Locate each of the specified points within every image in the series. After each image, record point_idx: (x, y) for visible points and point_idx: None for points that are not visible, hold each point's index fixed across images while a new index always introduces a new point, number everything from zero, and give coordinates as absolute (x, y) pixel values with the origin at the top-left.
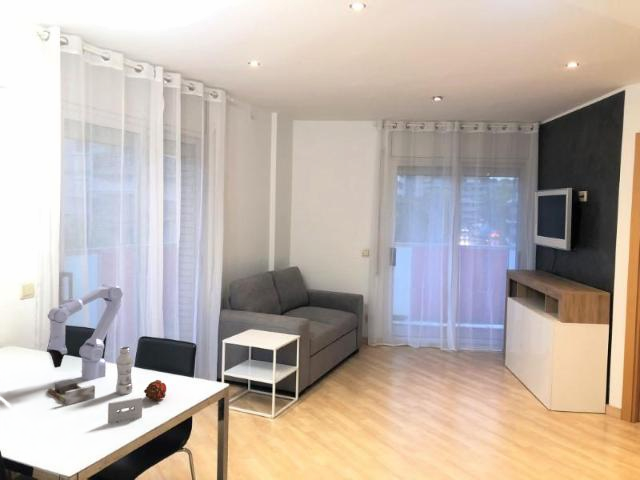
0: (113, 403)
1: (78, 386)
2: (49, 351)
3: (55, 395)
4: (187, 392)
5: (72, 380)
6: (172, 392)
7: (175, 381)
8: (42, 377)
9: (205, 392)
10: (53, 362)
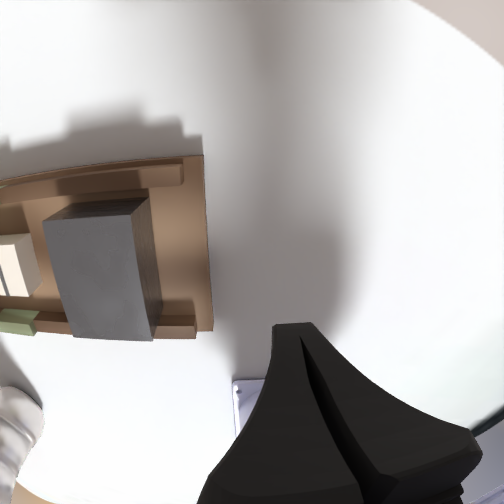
0: None
1: None
2: (457, 462)
3: (57, 177)
4: None
5: (134, 337)
6: None
7: (95, 494)
8: (486, 247)
9: None
10: (319, 353)
